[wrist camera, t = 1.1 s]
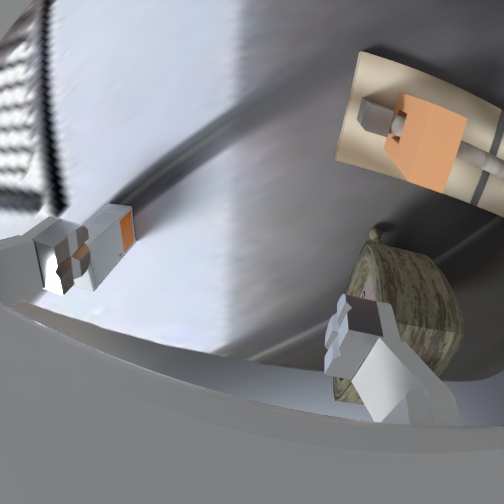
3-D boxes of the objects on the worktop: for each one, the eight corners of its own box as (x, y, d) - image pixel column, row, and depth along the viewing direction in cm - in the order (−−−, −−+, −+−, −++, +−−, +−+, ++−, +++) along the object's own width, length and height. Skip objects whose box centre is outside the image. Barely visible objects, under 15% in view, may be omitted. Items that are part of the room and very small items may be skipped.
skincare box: (137, 242, 45) (94, 293, 35) (113, 238, 46) (68, 286, 36) (133, 204, 42) (83, 251, 32) (108, 201, 42) (56, 245, 32)
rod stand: (359, 52, 27) (372, 47, 20) (541, 136, 25) (578, 156, 18) (335, 155, 34) (340, 179, 27) (511, 217, 32) (540, 249, 25)
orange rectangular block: (383, 148, 28) (407, 181, 21) (398, 91, 25) (431, 103, 17) (410, 157, 28) (442, 193, 20) (426, 102, 25) (467, 118, 17)
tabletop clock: (364, 213, 36) (402, 402, 16) (430, 230, 36) (504, 404, 15) (333, 303, 45) (326, 475, 24) (390, 314, 44) (409, 477, 23)
